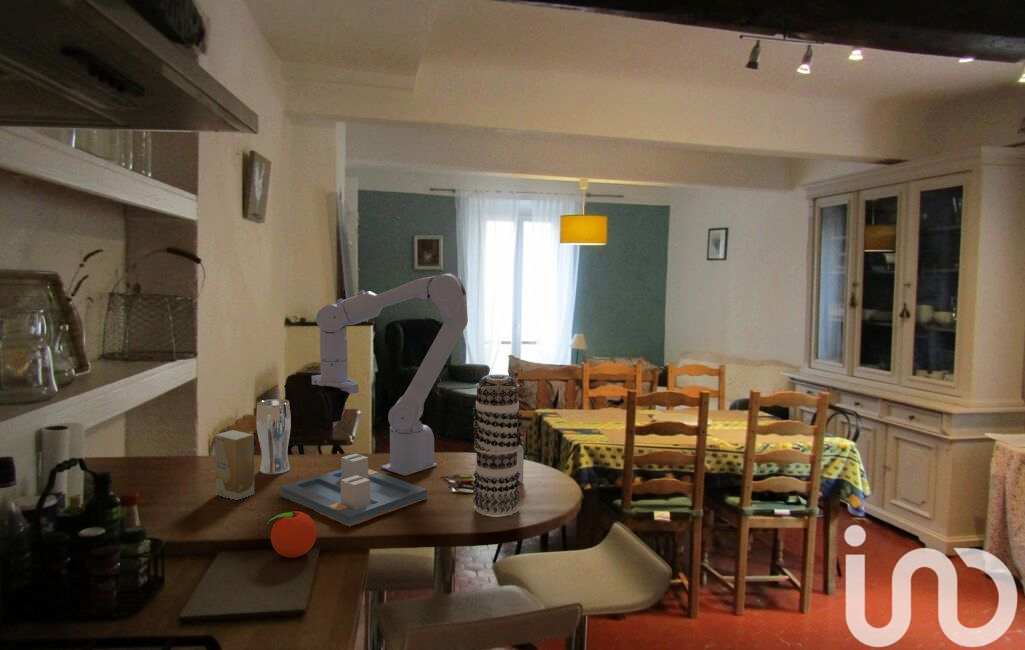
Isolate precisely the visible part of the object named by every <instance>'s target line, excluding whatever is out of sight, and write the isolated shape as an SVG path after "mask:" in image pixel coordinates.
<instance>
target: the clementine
mask: <svg viewBox="0 0 1025 650" xmlns="http://www.w3.org/2000/svg"><path fill="white" fill-rule="evenodd" d="M277 518H278V519H277ZM275 519H276V521H275V523H274V524H273V525H272V528H271V531H270V541H271V545H272V547H273V549H274V551H275V552H277V554H279V555H281V556H282V557H285V558H292V559H293V558H299V557H302V556H303V555H305V554H307V553H308V552H309V551H311V549H312V547H314V544H315V542H316V540H317V536H318V535H317V534H318V531H317V525H316V523H315V521H314V519H312V517H311V516H310V515H308V514H307V513H304V512H302V511H287V512H283V513H279V514H276V515H275V516H274V517H272V518H270V519H269V520H268V522H266V525H265V526H264V529H263V530H265V529H266V527H267V525H268V524H269V523H270V522H271V521H273V520H275Z"/></svg>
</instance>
